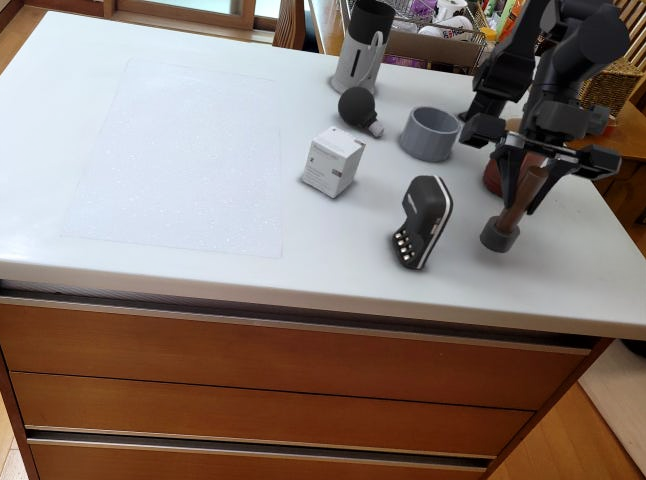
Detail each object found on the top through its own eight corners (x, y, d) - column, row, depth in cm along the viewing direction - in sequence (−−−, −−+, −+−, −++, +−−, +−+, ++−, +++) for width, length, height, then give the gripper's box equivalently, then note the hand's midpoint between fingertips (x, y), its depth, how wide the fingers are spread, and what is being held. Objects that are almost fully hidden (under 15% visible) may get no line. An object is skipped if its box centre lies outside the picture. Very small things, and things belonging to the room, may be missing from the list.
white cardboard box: (300, 181, 83) (310, 139, 77) (321, 165, 87) (332, 123, 81) (334, 199, 81) (347, 158, 76) (353, 182, 85) (367, 141, 79)
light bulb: (388, 125, 90) (348, 80, 91) (362, 151, 94) (324, 108, 95) (401, 118, 95) (363, 76, 96) (376, 144, 99) (340, 103, 100)
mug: (482, 164, 95) (510, 111, 87) (531, 185, 93) (563, 133, 85) (464, 198, 87) (493, 143, 79) (517, 222, 85) (552, 167, 77)
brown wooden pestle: (492, 228, 78) (534, 157, 69) (516, 247, 76) (563, 177, 67) (472, 237, 76) (513, 165, 67) (497, 257, 74) (542, 186, 65)
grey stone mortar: (423, 129, 100) (434, 102, 96) (457, 155, 96) (471, 127, 92) (390, 139, 96) (400, 110, 92) (424, 166, 91) (437, 138, 87)
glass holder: (370, 78, 110) (394, 1, 100) (382, 116, 101) (410, 34, 90) (328, 72, 109) (348, -7, 98) (336, 109, 99) (359, 26, 89)
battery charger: (384, 234, 77) (411, 167, 69) (409, 235, 78) (439, 169, 70) (397, 270, 73) (428, 203, 64) (423, 271, 73) (458, 205, 65)
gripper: (505, 48, 62) (465, 180, 63) (668, 92, 61) (627, 226, 62) (474, 83, 73) (441, 195, 74) (612, 121, 73) (577, 234, 73)
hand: (517, 211), depth 70 cm, fingers closed on brown wooden pestle, 2 cm apart
